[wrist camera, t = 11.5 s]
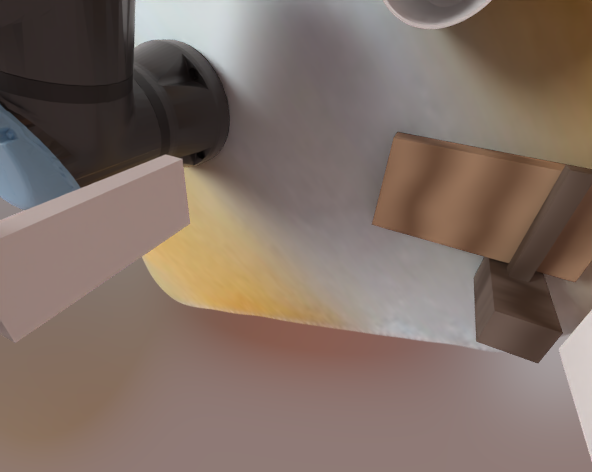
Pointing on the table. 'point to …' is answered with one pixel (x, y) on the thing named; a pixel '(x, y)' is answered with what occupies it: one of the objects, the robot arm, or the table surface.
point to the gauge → (527, 278)
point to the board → (478, 201)
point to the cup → (434, 11)
